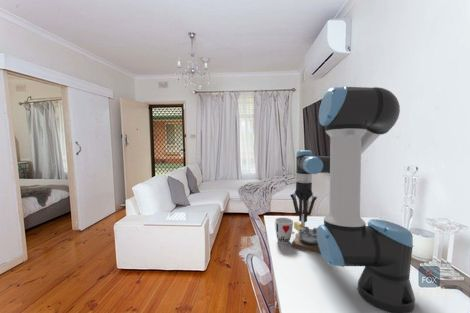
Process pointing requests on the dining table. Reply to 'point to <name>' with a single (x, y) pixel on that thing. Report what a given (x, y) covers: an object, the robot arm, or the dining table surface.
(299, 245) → the base board
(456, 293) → the dining table surface
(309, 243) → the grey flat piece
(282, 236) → the cup
